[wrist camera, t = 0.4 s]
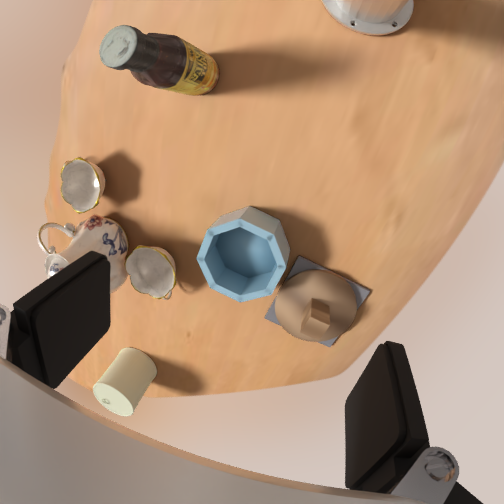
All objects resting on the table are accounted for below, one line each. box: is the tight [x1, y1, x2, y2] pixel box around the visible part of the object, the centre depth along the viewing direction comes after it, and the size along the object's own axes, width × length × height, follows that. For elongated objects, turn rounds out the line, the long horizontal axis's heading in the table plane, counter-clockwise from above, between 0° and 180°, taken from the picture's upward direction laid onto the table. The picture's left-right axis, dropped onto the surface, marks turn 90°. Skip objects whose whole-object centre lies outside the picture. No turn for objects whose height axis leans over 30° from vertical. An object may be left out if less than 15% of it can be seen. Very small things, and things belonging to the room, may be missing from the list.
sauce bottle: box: [100, 25, 219, 95], centre depth 30 cm, size 7×6×20 cm
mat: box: [265, 256, 370, 347], centre depth 49 cm, size 12×12×1 cm
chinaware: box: [37, 157, 177, 300], centre depth 44 cm, size 28×17×17 cm, turn 46°
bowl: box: [196, 206, 290, 302], centre depth 45 cm, size 11×11×6 cm
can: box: [93, 347, 157, 416], centre depth 58 cm, size 9×9×12 cm
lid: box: [275, 269, 357, 342], centre depth 46 cm, size 12×12×6 cm
